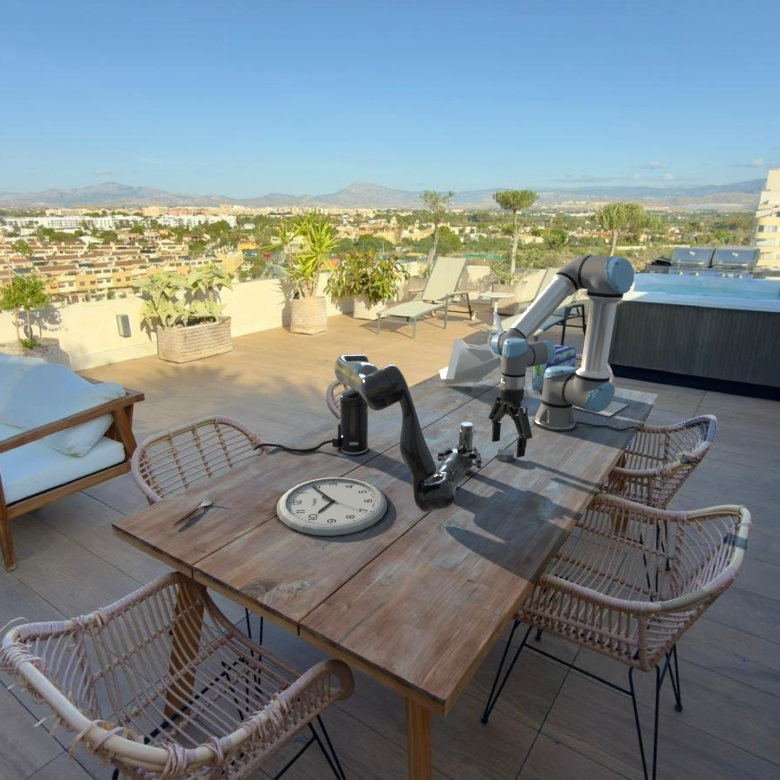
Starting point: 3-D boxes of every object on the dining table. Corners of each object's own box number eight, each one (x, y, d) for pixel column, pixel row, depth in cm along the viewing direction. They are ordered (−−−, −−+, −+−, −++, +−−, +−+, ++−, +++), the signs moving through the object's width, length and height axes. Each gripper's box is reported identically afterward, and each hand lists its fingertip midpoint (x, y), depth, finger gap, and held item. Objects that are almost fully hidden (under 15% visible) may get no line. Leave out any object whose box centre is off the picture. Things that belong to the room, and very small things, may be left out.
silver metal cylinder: (470, 474, 162) (473, 427, 157) (457, 473, 163) (460, 426, 158) (470, 468, 166) (473, 422, 161) (457, 467, 166) (460, 421, 162)
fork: (169, 526, 131) (168, 519, 131) (210, 497, 146) (210, 490, 145) (177, 528, 130) (176, 521, 130) (218, 498, 145) (217, 492, 144)
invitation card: (608, 416, 214) (573, 407, 224) (608, 416, 214) (573, 408, 224) (628, 404, 229) (594, 396, 238) (628, 405, 229) (594, 397, 238)
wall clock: (392, 527, 129) (268, 531, 127) (391, 533, 130) (269, 537, 127) (383, 473, 158) (282, 475, 155) (383, 478, 158) (282, 480, 156)
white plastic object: (461, 429, 252) (437, 405, 227) (444, 352, 274) (420, 323, 250) (535, 404, 240) (518, 377, 215) (510, 326, 262) (492, 293, 237)
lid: (516, 458, 174) (516, 452, 173) (507, 463, 170) (507, 456, 170) (503, 453, 177) (504, 447, 177) (494, 458, 174) (494, 451, 173)
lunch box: (548, 397, 237) (553, 352, 230) (527, 392, 244) (531, 348, 238) (575, 386, 254) (580, 344, 248) (555, 382, 261) (559, 340, 255)
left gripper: (477, 463, 146) (490, 441, 161) (429, 454, 151) (446, 433, 166) (475, 487, 148) (488, 463, 163) (428, 477, 153) (444, 455, 169)
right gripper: (480, 378, 176) (477, 436, 183) (527, 400, 154) (522, 465, 161) (499, 375, 179) (495, 433, 185) (547, 397, 157) (541, 461, 164)
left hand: (467, 448), depth 165 cm, fingers closed on silver metal cylinder, 4 cm apart
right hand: (507, 448), depth 173 cm, fingers open, 13 cm apart
